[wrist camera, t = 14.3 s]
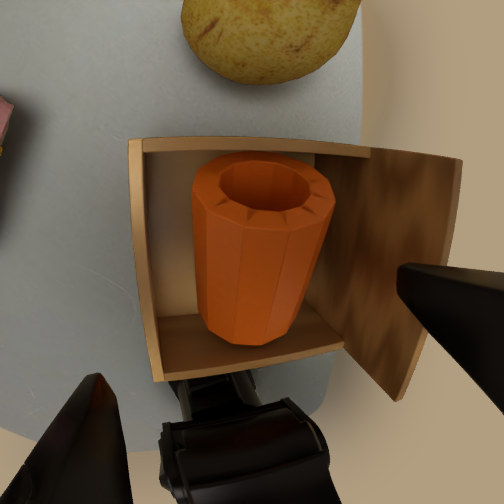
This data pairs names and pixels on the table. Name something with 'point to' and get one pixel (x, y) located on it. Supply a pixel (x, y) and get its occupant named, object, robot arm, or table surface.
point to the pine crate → (327, 266)
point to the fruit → (266, 36)
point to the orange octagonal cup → (256, 241)
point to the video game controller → (4, 119)
